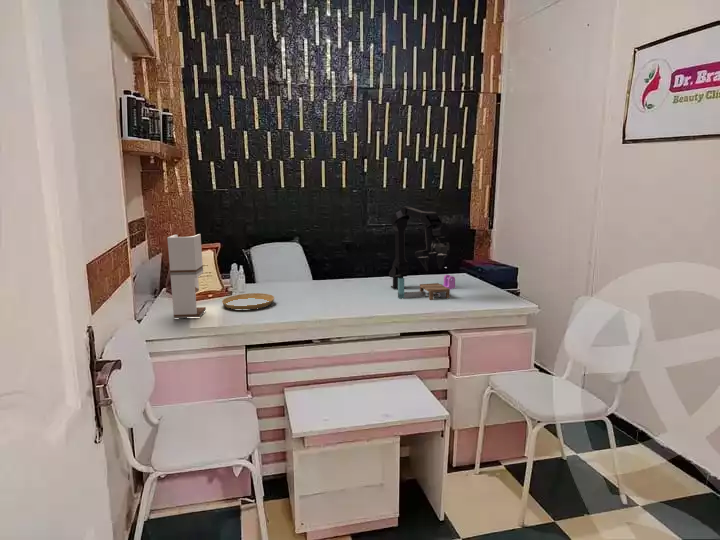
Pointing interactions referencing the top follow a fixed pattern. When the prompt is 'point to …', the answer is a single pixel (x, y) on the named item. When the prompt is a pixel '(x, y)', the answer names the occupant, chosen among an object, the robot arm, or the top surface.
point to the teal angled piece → (408, 294)
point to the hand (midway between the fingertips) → (433, 270)
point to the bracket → (449, 281)
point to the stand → (435, 289)
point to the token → (436, 294)
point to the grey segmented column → (185, 274)
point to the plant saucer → (246, 296)
